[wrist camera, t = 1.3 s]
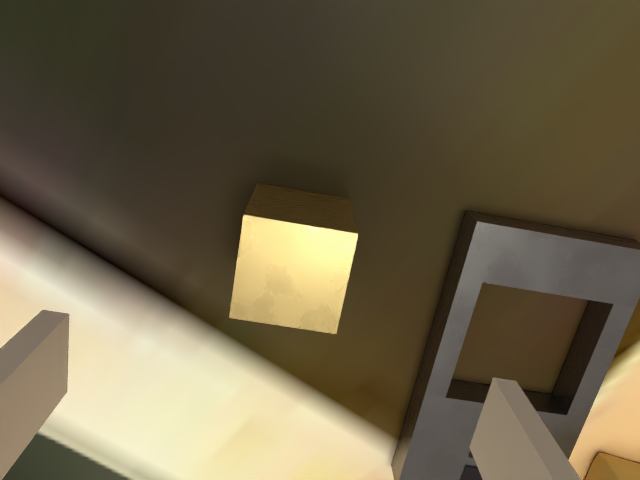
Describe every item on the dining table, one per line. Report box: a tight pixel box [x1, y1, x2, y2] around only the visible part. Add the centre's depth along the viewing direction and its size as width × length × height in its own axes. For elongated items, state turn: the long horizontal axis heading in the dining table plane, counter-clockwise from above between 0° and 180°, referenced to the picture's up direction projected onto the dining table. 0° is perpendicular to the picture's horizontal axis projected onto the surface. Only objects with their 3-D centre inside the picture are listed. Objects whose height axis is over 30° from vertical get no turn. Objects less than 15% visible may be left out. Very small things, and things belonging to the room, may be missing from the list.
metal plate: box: [391, 211, 640, 480], centre depth 30 cm, size 18×10×2 cm, turn 170°
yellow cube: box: [229, 183, 358, 334], centre depth 25 cm, size 5×5×6 cm
